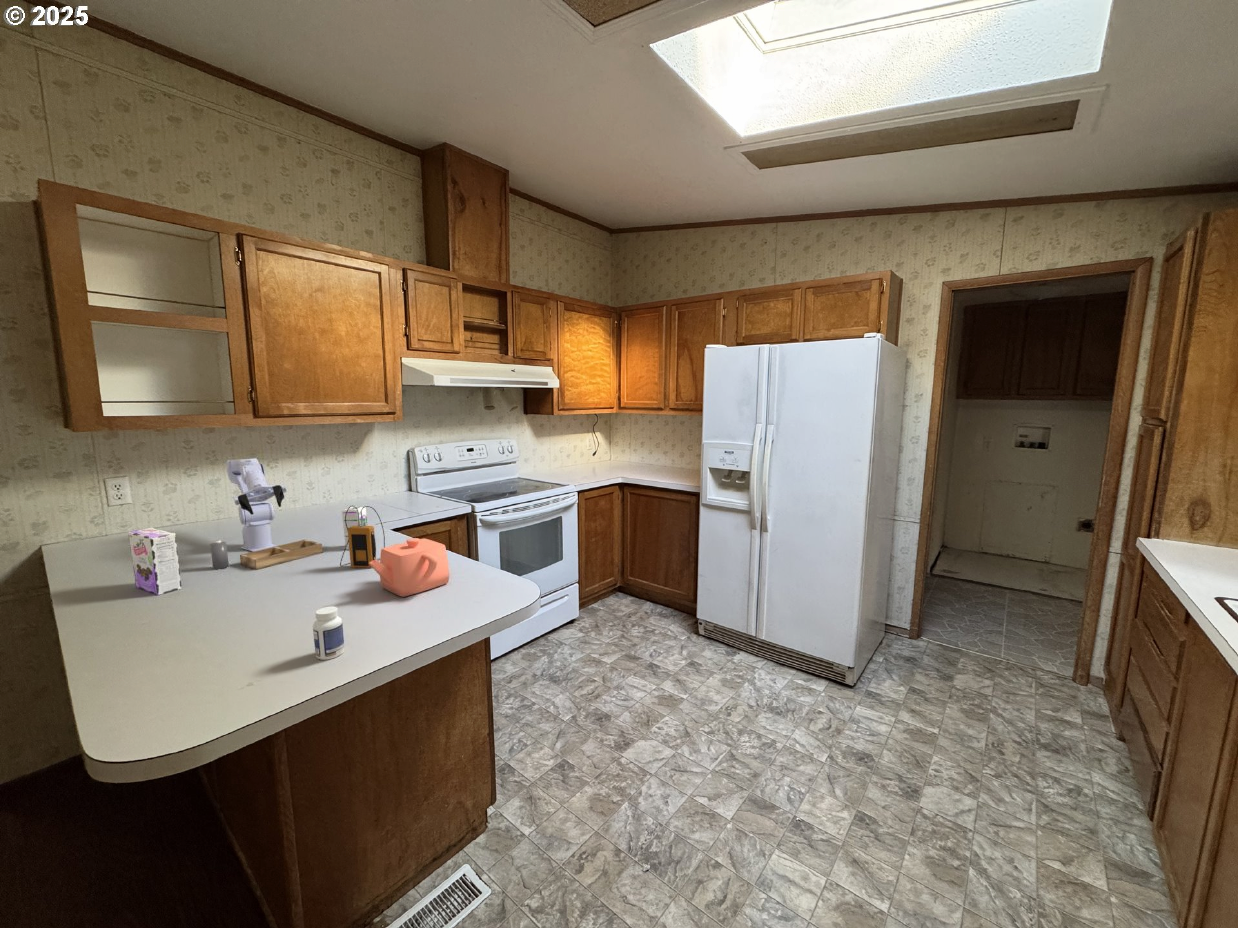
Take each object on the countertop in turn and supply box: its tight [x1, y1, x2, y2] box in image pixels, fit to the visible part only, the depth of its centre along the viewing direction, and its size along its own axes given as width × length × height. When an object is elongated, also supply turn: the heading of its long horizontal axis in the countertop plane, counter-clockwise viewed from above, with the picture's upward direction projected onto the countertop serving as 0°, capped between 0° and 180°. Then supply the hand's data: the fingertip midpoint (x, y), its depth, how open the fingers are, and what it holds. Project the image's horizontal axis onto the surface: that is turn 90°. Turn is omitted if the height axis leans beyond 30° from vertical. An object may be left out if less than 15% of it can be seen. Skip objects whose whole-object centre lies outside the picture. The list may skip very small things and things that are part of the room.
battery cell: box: [209, 539, 230, 571], centre depth 163 cm, size 4×4×9 cm
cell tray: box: [239, 539, 323, 570], centre depth 172 cm, size 11×20×3 cm, turn 148°
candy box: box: [127, 527, 183, 596], centre depth 146 cm, size 14×6×16 cm, turn 62°
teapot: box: [369, 537, 450, 598], centre depth 144 cm, size 20×22×14 cm
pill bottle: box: [312, 606, 345, 661], centre depth 108 cm, size 5×5×10 cm
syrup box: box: [341, 505, 368, 551], centre depth 183 cm, size 6×6×14 cm
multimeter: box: [339, 505, 386, 569], centre depth 166 cm, size 15×10×20 cm
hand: (265, 508), depth 167 cm, fingers open, 7 cm apart
